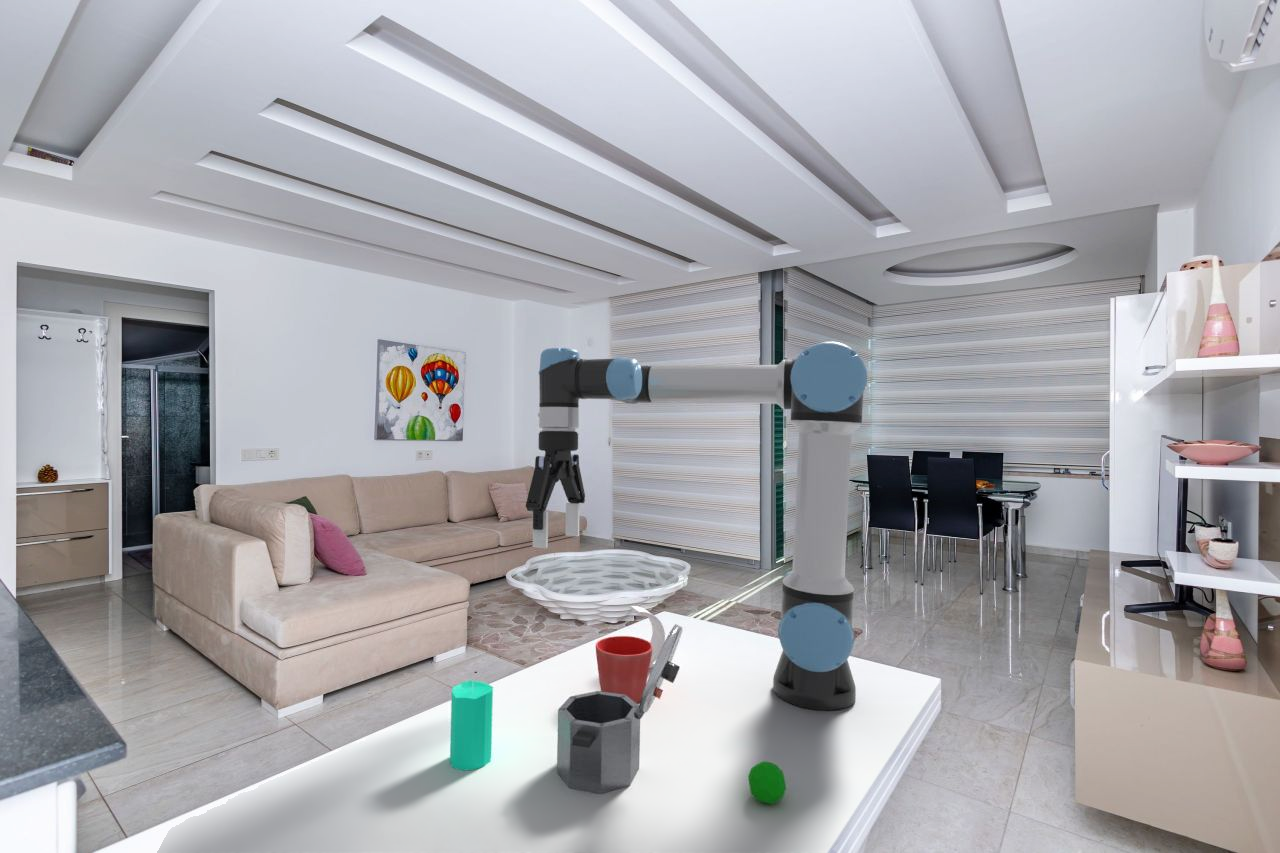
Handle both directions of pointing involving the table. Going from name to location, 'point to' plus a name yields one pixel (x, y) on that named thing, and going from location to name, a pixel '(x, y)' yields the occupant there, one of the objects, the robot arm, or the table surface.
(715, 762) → the table surface
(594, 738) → the pot
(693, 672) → the table surface
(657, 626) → the headphone stand
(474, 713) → the candle
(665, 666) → the lid
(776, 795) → the polyhedron
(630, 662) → the flower pot
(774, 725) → the table surface
